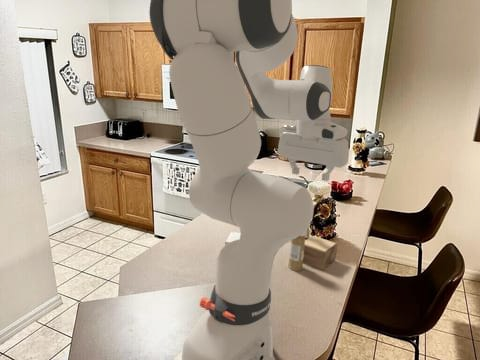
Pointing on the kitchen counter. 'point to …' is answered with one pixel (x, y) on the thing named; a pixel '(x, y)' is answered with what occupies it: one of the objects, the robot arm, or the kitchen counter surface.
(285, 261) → the kitchen counter surface
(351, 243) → the kitchen counter surface
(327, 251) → the tan cardboard box
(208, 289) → the kitchen counter surface
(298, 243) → the sprinkles bottle
